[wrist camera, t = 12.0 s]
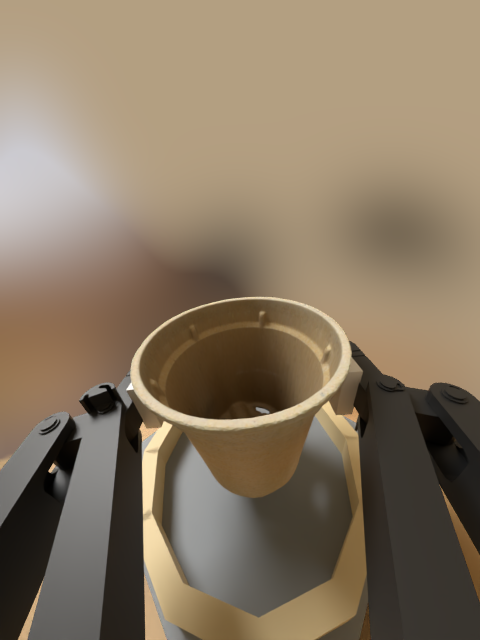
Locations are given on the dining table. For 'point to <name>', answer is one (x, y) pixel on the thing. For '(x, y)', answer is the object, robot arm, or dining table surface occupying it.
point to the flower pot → (243, 384)
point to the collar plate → (257, 542)
